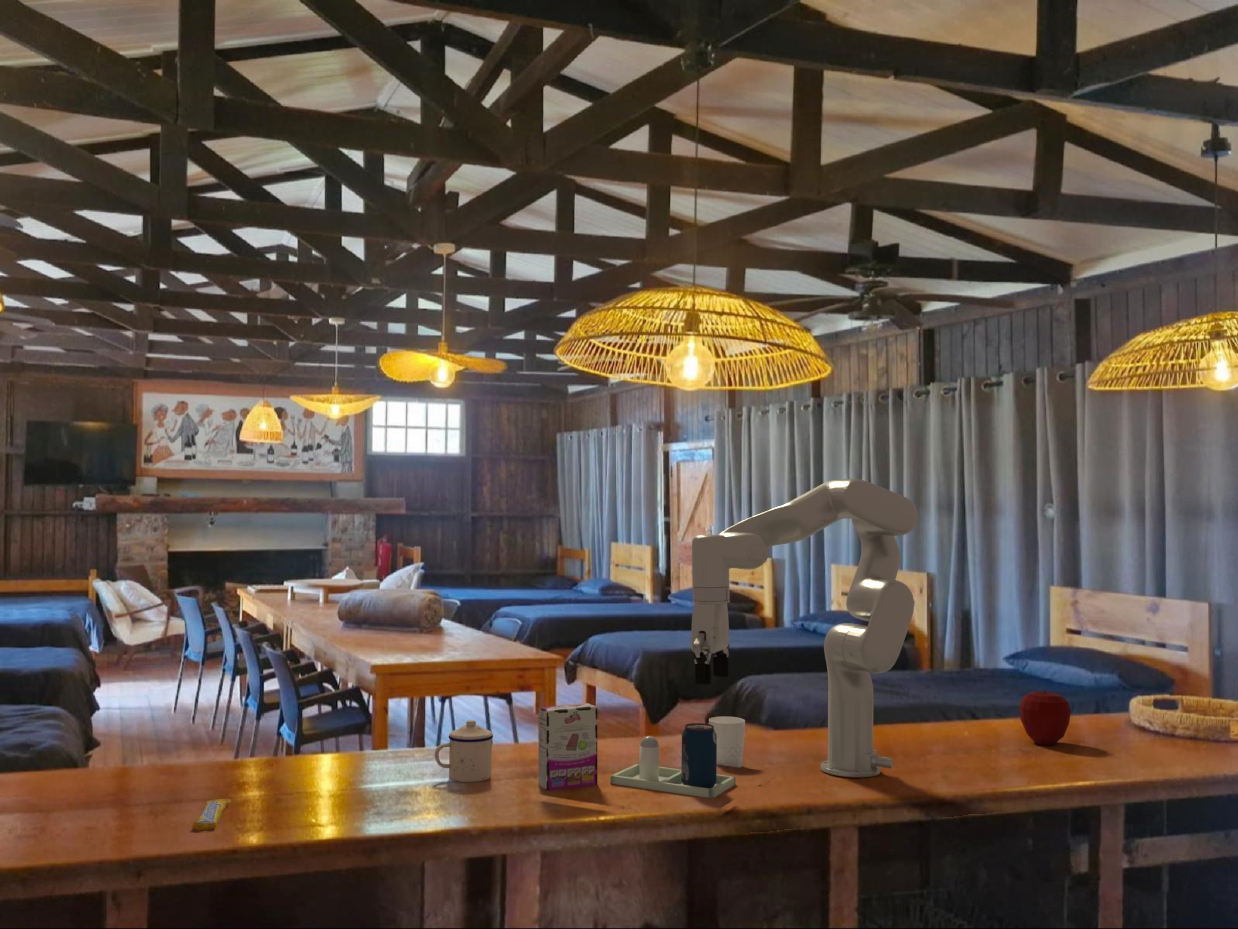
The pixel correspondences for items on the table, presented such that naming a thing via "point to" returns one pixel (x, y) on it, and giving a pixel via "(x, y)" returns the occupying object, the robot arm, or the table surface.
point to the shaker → (649, 759)
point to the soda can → (699, 755)
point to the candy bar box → (567, 746)
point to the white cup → (729, 740)
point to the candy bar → (211, 814)
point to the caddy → (670, 782)
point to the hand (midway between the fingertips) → (712, 680)
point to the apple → (1045, 716)
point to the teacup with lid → (468, 753)
